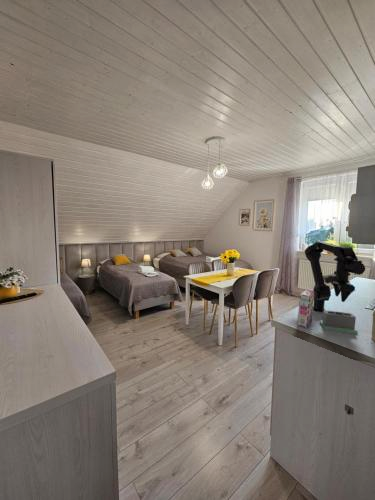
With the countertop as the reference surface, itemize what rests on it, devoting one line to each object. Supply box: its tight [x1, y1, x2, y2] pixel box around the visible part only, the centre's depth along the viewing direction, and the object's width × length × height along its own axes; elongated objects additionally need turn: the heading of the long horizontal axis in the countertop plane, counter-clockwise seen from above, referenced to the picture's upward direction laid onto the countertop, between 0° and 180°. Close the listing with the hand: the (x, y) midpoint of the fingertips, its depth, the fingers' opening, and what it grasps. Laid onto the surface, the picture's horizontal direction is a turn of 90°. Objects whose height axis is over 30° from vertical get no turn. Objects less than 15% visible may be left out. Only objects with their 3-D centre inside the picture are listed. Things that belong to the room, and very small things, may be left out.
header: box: [319, 319, 359, 335], centre depth 110 cm, size 8×14×5 cm, turn 73°
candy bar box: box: [296, 289, 314, 329], centre depth 115 cm, size 11×5×16 cm, turn 141°
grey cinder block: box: [322, 309, 357, 329], centre depth 110 cm, size 5×12×6 cm, turn 73°
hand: (339, 298), depth 119 cm, fingers open, 9 cm apart
